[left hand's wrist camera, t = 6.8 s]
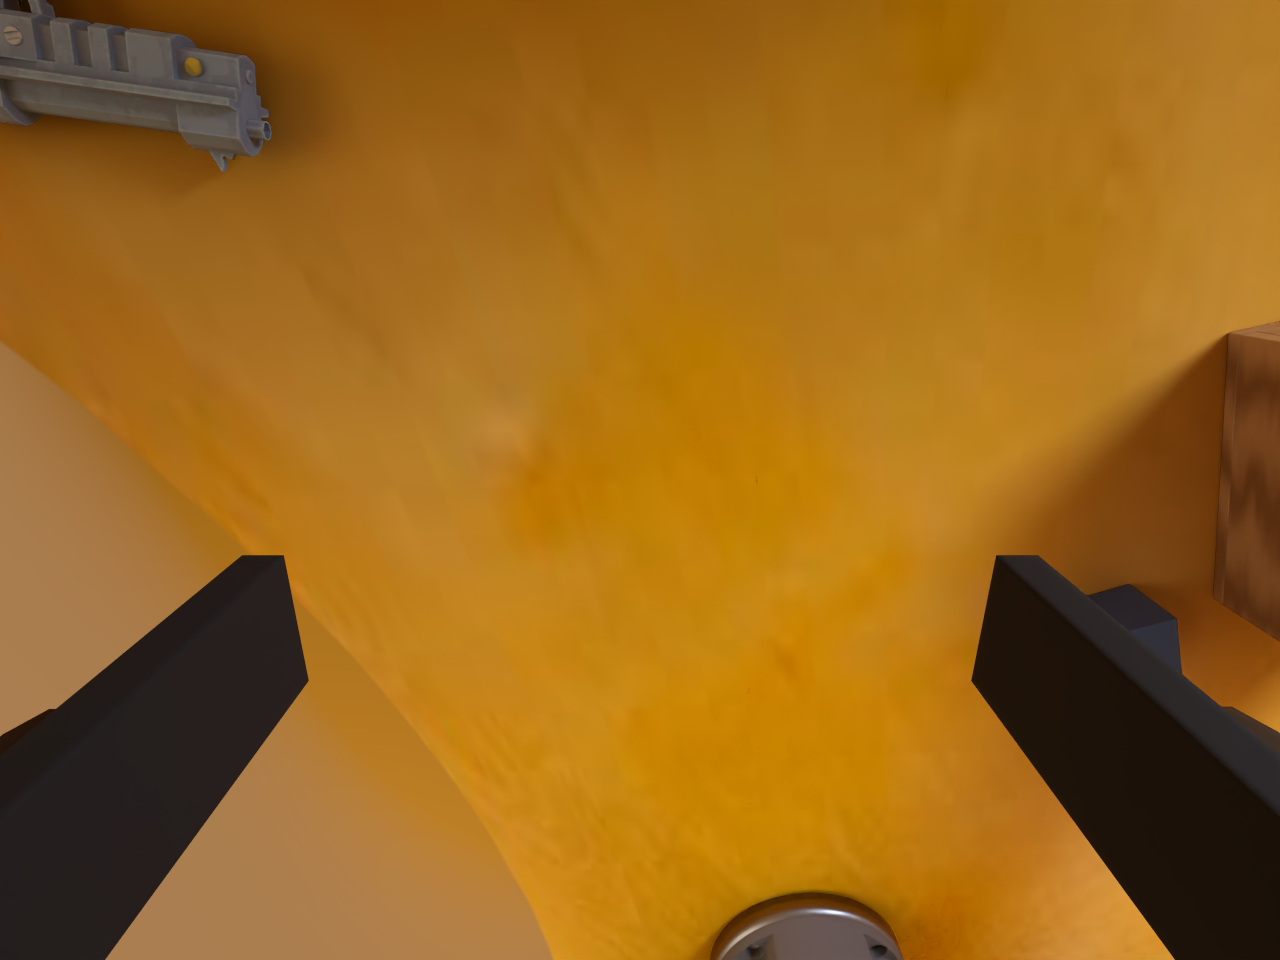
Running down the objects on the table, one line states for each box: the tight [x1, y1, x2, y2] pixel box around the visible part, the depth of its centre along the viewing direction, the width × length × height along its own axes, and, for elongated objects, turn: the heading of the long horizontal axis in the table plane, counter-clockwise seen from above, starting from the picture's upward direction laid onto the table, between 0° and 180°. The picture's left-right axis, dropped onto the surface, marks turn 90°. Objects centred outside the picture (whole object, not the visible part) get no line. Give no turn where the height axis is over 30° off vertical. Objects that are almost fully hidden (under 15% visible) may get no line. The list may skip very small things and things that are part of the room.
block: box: [1088, 584, 1182, 674], centre depth 43 cm, size 4×4×4 cm
